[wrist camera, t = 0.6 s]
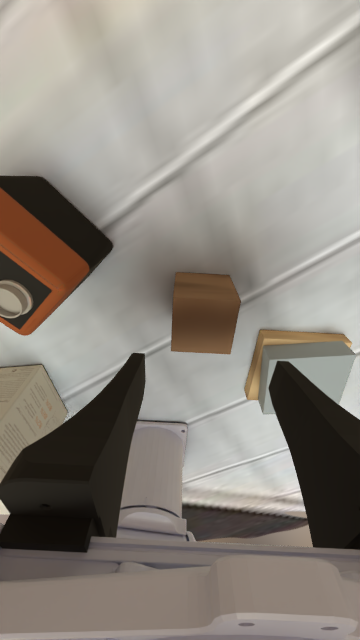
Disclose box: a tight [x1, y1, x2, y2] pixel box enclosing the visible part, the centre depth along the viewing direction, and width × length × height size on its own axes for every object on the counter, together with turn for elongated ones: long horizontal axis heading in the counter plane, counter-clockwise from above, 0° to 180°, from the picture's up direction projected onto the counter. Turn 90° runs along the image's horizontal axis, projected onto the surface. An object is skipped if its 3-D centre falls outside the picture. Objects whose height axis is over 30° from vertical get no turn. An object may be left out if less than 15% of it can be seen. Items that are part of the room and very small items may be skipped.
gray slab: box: [258, 341, 356, 414], centre depth 23 cm, size 7×7×2 cm
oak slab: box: [245, 330, 352, 400], centre depth 25 cm, size 8×8×2 cm
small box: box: [0, 365, 68, 514], centre depth 23 cm, size 8×6×10 cm
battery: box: [0, 176, 113, 335], centre depth 14 cm, size 4×7×10 cm, turn 44°
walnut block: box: [171, 272, 241, 354], centre depth 19 cm, size 4×4×5 cm
